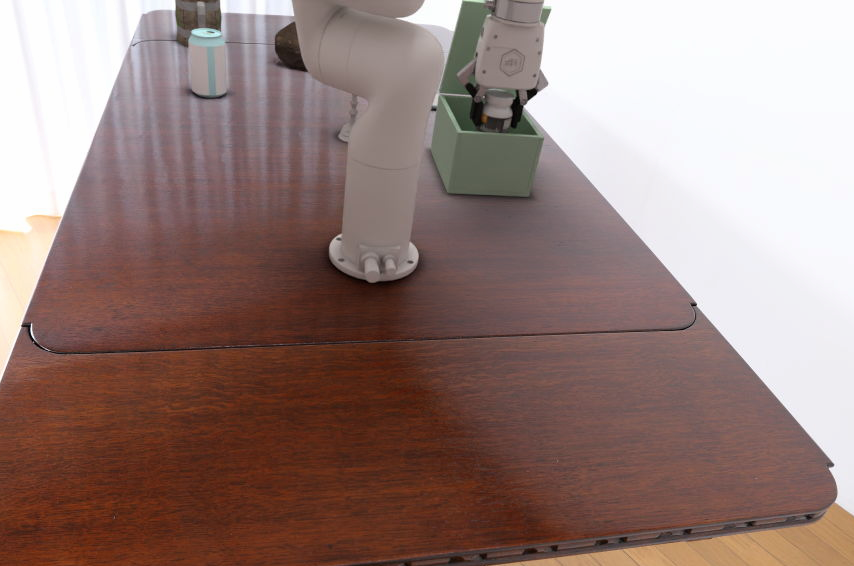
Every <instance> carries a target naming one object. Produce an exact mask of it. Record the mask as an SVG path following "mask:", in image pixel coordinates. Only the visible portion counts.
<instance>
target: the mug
mask: <svg viewBox="0 0 854 566" xmlns="http://www.w3.org/2000/svg"><path fill="white" fill-rule="evenodd" d="M174 2H175V3H174V4H175V11H174V13H175V21H176V29H177V37H176V39H177V40H176V42H178V43H179V44H181V45H182V46H184V47H188V48H189V42H188V40H189V38H190V36H191V35H192V33H191V31H192V30H194V29H200V28H207V29H214V30H218V31H220V32H221V33H222V18H223V17H222V9H221V0H174Z"/></svg>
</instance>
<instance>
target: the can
mask: <svg viewBox="0 0 854 566" xmlns="http://www.w3.org/2000/svg"><path fill="white" fill-rule="evenodd" d="M191 33H192V35H191V36H190V38H189V40H188V42H189V47H188V54H189V55H188V56H189V68H190V69H189V70H190V85H191V91H192V92H193V93H195V95H198V96H199V97H203V98H207V99H208V98H209V99H211V98H212V99H214V98H220V97H222V96H224V95H225V94H226V93H227V92H228V77H227V75H228V73H227V51H226V50H227V48H226V47H227V46H226V40H225V39H224V37H223V36H222V35H223V33H222V31H221V32H220V31H218V30H214V29H207V28H200V29H194V30H192V31H191Z"/></svg>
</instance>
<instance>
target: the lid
mask: <svg viewBox="0 0 854 566" xmlns="http://www.w3.org/2000/svg"><path fill="white" fill-rule="evenodd" d="M551 12H552V6H551V5H543V9H542V13H541V18H540V21H541V22H542V23H544V29H546V28H545V27H546V25H547V22H548V19H549V17H550V14H551ZM487 15H491V12H490V10H488V9H484V0H462V1H461V4H460V8H459V12H458V15H457V20H456V23H455V27H454V31H453V35H452V38H451V43H450V47H449V50H448V54H447V59H446V63H445V65H444V69H443V73H442V77H441V80H440V84H439V88H438V91H439V92H438V94H444V95H458V96H471V95H470V94H469V92H468V91H467V90H466V88H465V87H464V86H463V85H462V84H461V82H460V81H459V80H458V78H457V76H456V75H457V73H458V72H459V71H461V70H462V69H463V68H464V67H465V66H466V65H467V64H468V63H470V62H471V61H472V60H473V59H474V55H475V51H476V47H477V43H478V40H479V37H480V33H481V30H482V27H483V25H484V22H485V19H486V17H487ZM468 79H469V81H470V82H471V83H472V84H473V86H475V84H476V82H477V81H476V80H475V77H474V76H473V75H472V74H471V75H470V76H469V77H468ZM488 89H500V88H488ZM488 89H487V90H488ZM501 90H505V91H508V92H510V93H512V94H513V96H514V98H513V99H515V97H516V92H515V90H514V89H501ZM483 97H485V94H484V96H483Z"/></svg>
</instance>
